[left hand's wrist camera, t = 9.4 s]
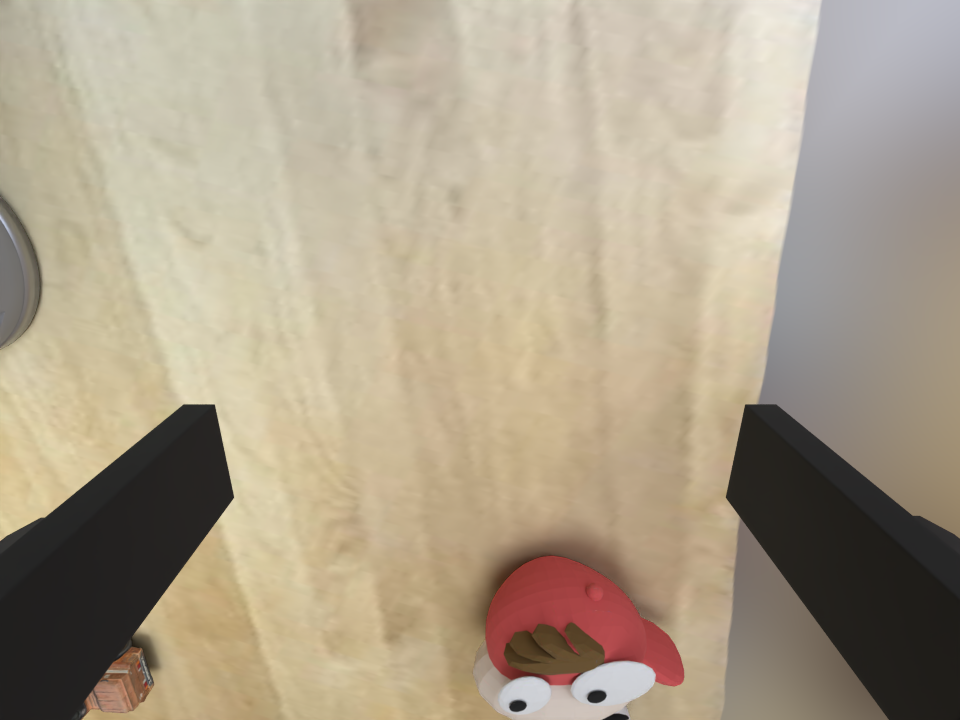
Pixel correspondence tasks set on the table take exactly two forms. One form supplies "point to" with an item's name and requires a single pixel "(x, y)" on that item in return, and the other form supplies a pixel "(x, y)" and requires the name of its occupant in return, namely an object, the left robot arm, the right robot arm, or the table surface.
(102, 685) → the toy car
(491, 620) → the toy
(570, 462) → the table surface
